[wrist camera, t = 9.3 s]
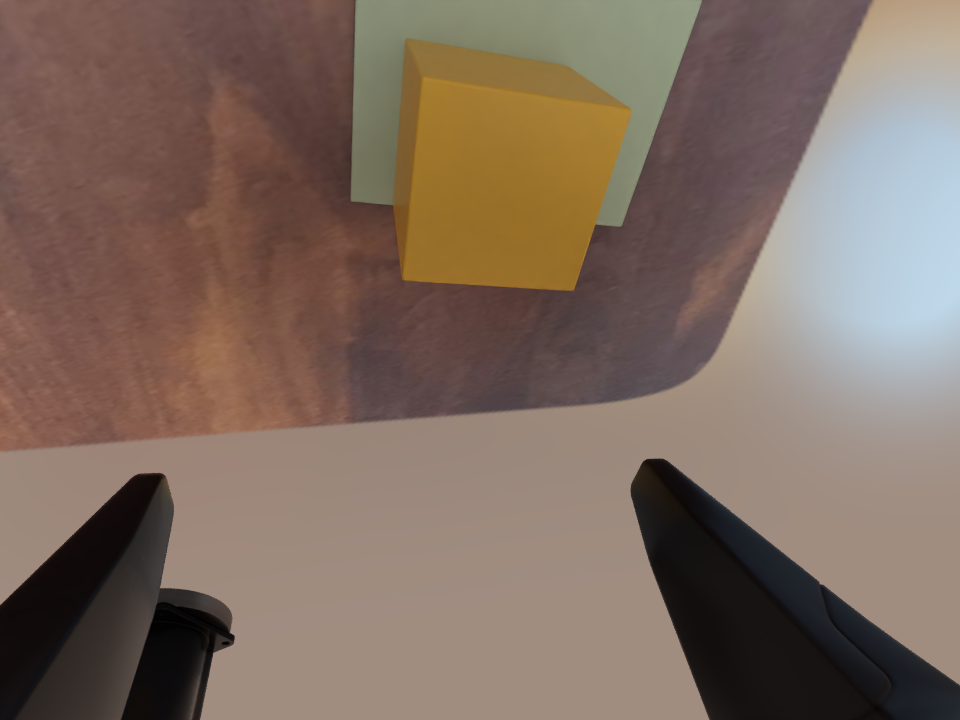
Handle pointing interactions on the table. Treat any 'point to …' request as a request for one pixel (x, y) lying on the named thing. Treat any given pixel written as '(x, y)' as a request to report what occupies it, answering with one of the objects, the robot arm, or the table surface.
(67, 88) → the table surface
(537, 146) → the yellow block
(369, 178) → the mat
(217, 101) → the table surface
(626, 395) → the table surface
